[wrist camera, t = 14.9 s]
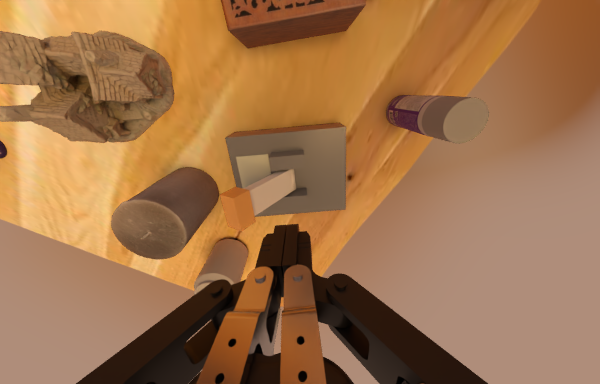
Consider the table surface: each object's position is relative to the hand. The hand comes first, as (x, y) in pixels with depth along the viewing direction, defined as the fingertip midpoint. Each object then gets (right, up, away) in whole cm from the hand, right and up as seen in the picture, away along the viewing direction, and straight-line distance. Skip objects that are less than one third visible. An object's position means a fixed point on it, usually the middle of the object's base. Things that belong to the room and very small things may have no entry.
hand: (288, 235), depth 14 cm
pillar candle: (-20, +3, +27) cm, 33 cm away
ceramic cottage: (-27, +18, +20) cm, 39 cm away
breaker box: (-1, +7, +25) cm, 26 cm away
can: (-14, -10, +33) cm, 37 cm away
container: (+17, +16, +21) cm, 32 cm away
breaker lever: (-1, +5, +20) cm, 20 cm away
